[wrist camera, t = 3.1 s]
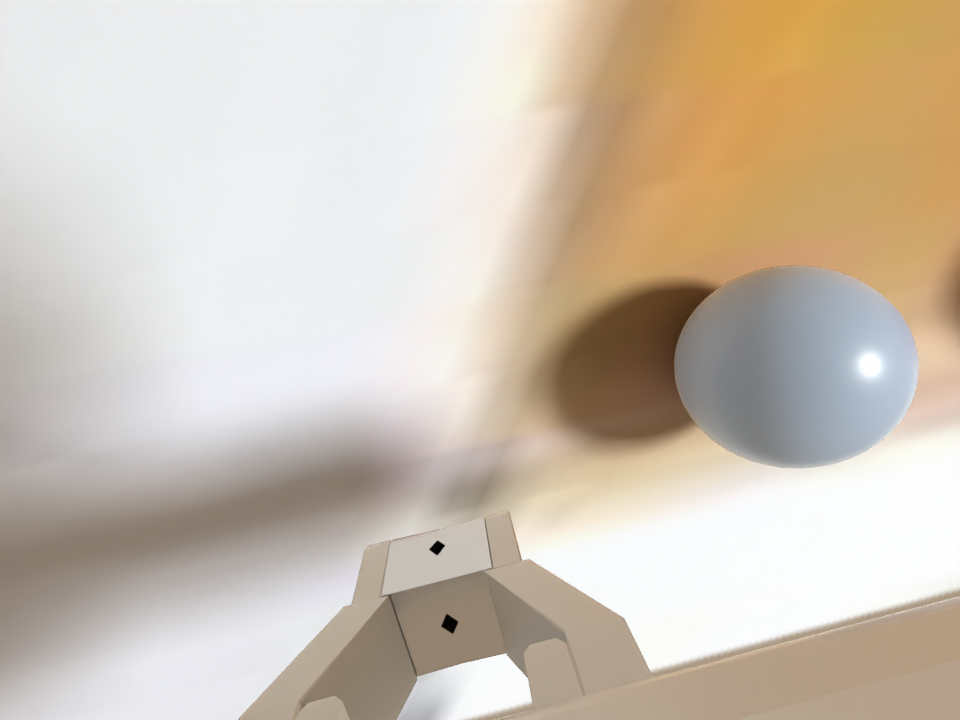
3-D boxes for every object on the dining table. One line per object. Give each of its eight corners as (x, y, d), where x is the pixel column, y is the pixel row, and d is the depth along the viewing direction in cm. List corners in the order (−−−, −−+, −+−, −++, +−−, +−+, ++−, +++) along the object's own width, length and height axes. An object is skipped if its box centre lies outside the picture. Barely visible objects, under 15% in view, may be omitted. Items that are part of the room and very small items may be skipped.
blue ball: (665, 247, 14) (798, 258, 9) (823, 271, 15) (1033, 294, 10) (626, 411, 16) (721, 503, 10) (772, 425, 16) (930, 519, 11)
